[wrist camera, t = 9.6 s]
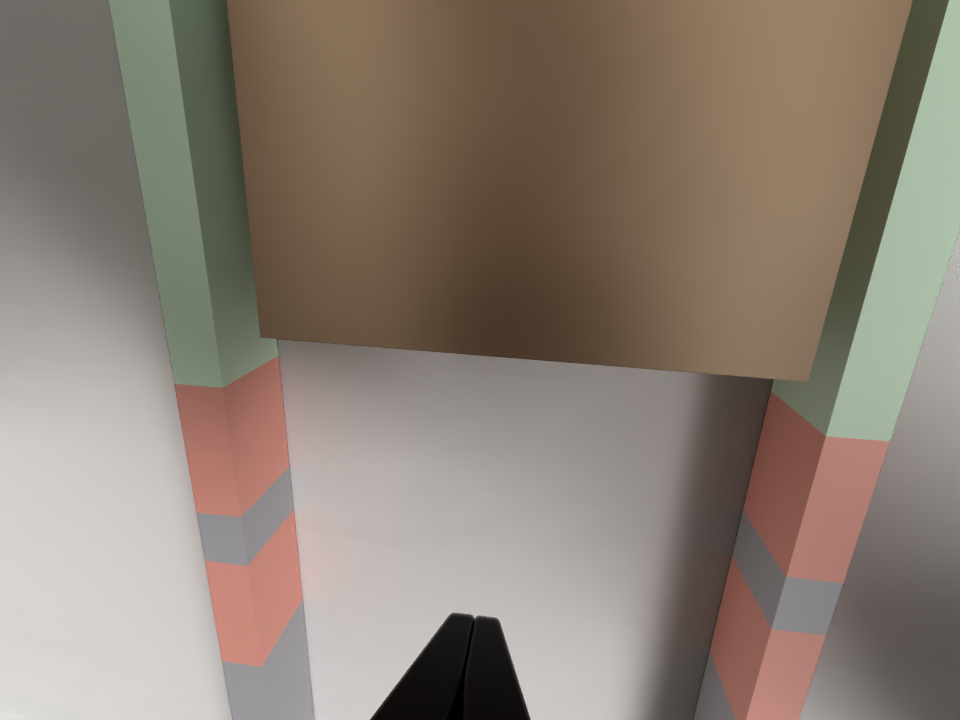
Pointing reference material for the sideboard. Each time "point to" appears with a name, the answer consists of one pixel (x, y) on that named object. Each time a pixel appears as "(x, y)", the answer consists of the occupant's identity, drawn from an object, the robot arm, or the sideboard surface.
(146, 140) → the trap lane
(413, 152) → the tan block
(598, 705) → the sideboard surface
